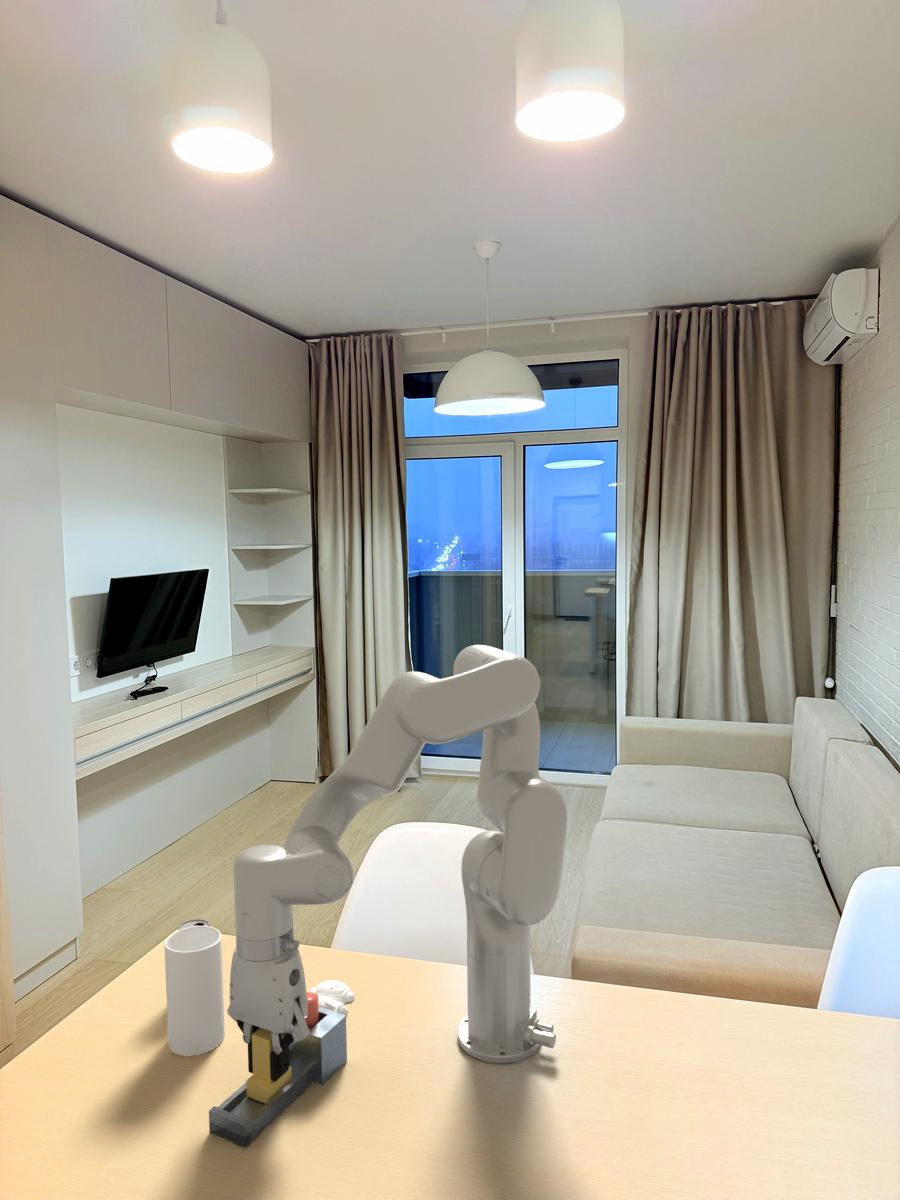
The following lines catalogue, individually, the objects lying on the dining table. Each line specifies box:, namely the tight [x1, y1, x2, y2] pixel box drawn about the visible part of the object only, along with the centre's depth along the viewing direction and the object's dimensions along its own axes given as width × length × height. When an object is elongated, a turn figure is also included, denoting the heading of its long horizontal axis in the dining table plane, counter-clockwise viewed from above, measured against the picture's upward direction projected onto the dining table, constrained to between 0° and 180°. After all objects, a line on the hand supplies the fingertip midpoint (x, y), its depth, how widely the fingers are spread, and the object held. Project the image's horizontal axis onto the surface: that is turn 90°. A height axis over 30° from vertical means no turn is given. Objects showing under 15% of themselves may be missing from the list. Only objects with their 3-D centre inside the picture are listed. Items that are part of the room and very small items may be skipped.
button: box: [305, 992, 319, 1029], centre depth 120 cm, size 3×3×5 cm
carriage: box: [245, 1028, 292, 1104], centre depth 113 cm, size 4×5×8 cm
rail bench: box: [208, 1007, 348, 1150], centre depth 114 cm, size 9×20×7 cm, turn 152°
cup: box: [163, 926, 226, 1057], centre depth 126 cm, size 8×8×16 cm
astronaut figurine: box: [307, 979, 356, 1016], centre depth 135 cm, size 9×12×3 cm
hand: (269, 1070), depth 113 cm, fingers closed on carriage, 3 cm apart
